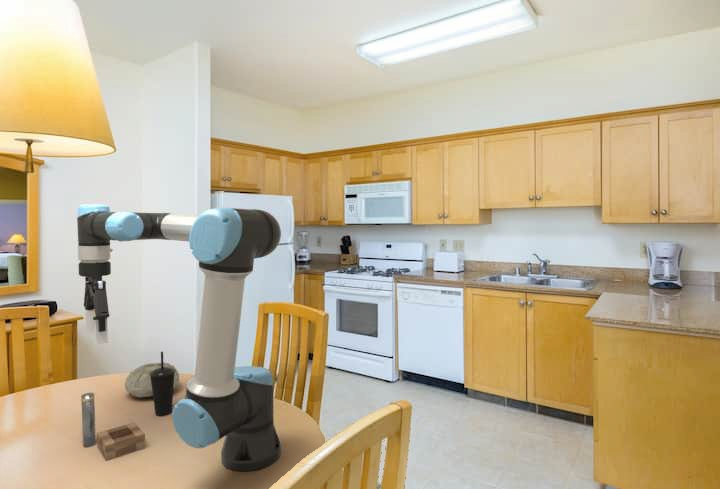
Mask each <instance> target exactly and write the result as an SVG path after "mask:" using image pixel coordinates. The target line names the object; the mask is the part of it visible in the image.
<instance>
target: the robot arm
mask: <svg viewBox="0 0 720 489" xmlns="http://www.w3.org/2000/svg"><path fill="white" fill-rule="evenodd" d="M76 222H77V244H78V245H77V259H78V260H79V261H80V262H79V263H78V276H80V277H85V278H84V279H85V283H84V298H83V299H84V300H83V307H84V309H85V311H84V312H85V314H84V315H85V334H86V335H87V334H94V340H95V342H94V343H95V345H100V344H108V318H110V312H109V304H108V303H109V302H108V295H107V282H106V280H103V277H105V276H109V275H111V273H112V270H111V268H112V266H111V262H110V261H109V260H111V253H112V252H113V250H114V249H113V248H111V241H116V242H117V241H118V242H130V241H131V242H132V241H141V240H142V241H143V240H144V241H145V240H166V241H180V242H189V249H190V250H192V251H191V254H192V255H193V256H194V258H195V259H196V260H197V261H198V269H199V270H200V271H201V272H202V273H203V274H204V280H203V281H204V284H203V290H202V291H203V295H202V304H201V311H200V321H199V332H198V341H197V342H198V343H197V351H196V361H195V372H194V375H193V376H192V377H191V378H190V379H188V381H187V382H186V388H185V389H186V391H185V397H184V398H181V399H179V400H178V402H177V403H175V405H174V406H173V407H172V412H171V416H172V417H171V418H172V423H173V428H174V429H175V432H176V434H177V435H178V437H179V438H180V439H181V440H182V441H183V443H185V444H186V445H187V446H189V447H192V448H194V449H203V448H207V447H208V446H210V445H213V444H216V443H218V442H219V440H222V438H224V441H223V443H222V444H223V445H222V448H221V451H220V452H221V453H220V455H221V456H220V461H221V464H222V465H223V467H224V468H226V469H229V470H231V471H235V472H251V471H258V470H261V469H265V468H266V467H269V466H270V465H272V464H274V463H275V462H276V461H277V460H278V459H279V458H280V456H281V453H282V449H281V448H282V446H281V445H282V444H281V441H280V438H279V435H278V433H277V430H276V427H275V424H274V385H275V384H274V380H273V379H274V378H273V376H274V375H273V372H272V370H270V369H268V368H266V367H263V366H262V367H261V366H255V365H248V366H247V365H246V366H245V365H243V366H236V361H237V360H236V359H237V352H238V345H239V344H238V342H239V336H240V335H239V333H240V325H241V324H240V323H241V316H242V308H243V298H244V290H245V280H246V277H247V276H249V275H250V274H251V273H253V272H254V264H255V263H254V262H255V259H260V258H264V257H267V256H268V255H271V254H272V253H273V252H274V251H275V250H276V249H277V248H278V245H279V244H280V241H281V237H282V236H281V235H282V229H281V227H280V223H279V222H278V220H277V219H276V217H275V216H274V215H272V214H271V213H269V212H267V211H266V210H262V209H254V208H252V209H250V208H249V209H248V208H247V209H246V208H233V207H218V208H209V209H206V210H205V211H203V212H202V213H201V214H188V213H187V214H186V213H185V214H184V213H172V212H162V213H161V212H137V211H136V212H132V211H131V212H130V211H110V206H109V205H107V204H91V203H90V204H87V203H86V204H85V203H84V204H80V205H79V206H78V208H77V216H76Z"/></svg>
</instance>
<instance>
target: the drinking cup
mask: <svg viewBox="0 0 720 489" xmlns="http://www.w3.org/2000/svg"><path fill="white" fill-rule="evenodd" d="M160 363H161V367H159V368H157V369H155V370H153V371H151V372H150V373H149V375H150V377H151V384H152V392H153V396H152V399H153V406H154V414H155V416H157V417H165V416H168V415H170V414H172V412H173V401H174V400H173V398H174V389H173V387H174V373H175V369H174V368H170V367H163V363H164V351H160Z"/></svg>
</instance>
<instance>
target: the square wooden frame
mask: <svg viewBox="0 0 720 489" xmlns="http://www.w3.org/2000/svg"><path fill="white" fill-rule="evenodd" d="M96 444H97V445H96V446H97V449H98V451H99V452H100V454H101V455H102V457H103V458H104V460H105V461H106V462H107V461H110V460H113V459H116V458H119V457H122V456H125V455H128V454H133V453H135V452H138V451H141V450H144V449H146V434H145V432H144V431H143V430H142V429H141V428H140V426H138V425H137V423H136V422H135V421H134V422H131V423H127V424H123V425H121V426H116V427H114V428H110V429H106V430H103V431H99V432H97V433H96Z"/></svg>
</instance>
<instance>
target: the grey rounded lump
mask: <svg viewBox="0 0 720 489" xmlns="http://www.w3.org/2000/svg"><path fill="white" fill-rule="evenodd" d="M159 367H161V362H156V363H155V362H154V363H153V362H151V363H145V364H143V365H141V366H138V367H137V368H135V369H134V370H133V371H130V373H129V375H128V376H127V377H126V379H125V381H124V388H125V390H126V392H128V393H129V394H131V395H132V396H133V397H135V398H136V397H137V398H151V397H153V392H152V384H151V377H150V375H149V373H150V372H151V371H153V370H155V369H157V368H159ZM163 367H170V368H174V369H175V373H174V387H173V390H174V389H176V388H177V386H178V384H179V382H180V373H179V372H178V370H177V368H176V367H175V365H172V364H170V363H168V362H163Z"/></svg>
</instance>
